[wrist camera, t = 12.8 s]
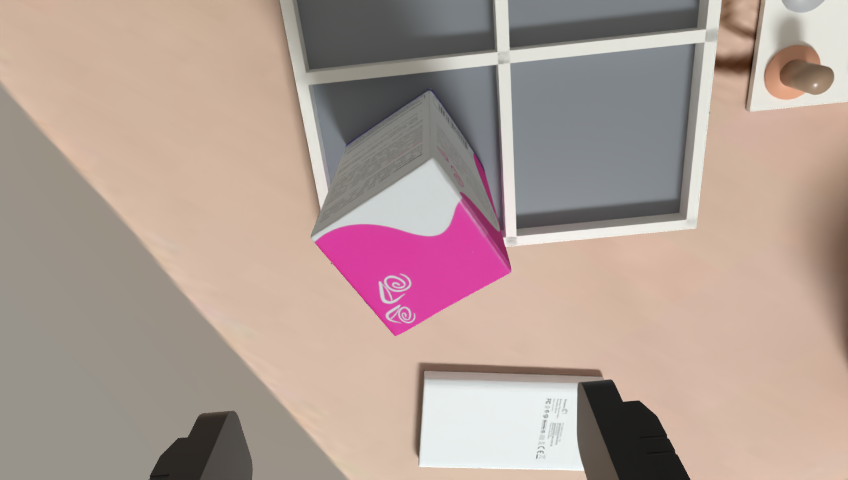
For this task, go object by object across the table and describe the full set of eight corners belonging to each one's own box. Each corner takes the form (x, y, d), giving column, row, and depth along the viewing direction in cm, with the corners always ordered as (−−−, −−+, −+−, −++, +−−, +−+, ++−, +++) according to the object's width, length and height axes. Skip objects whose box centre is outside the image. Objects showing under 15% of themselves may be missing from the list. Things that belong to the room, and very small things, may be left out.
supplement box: (341, 146, 31) (303, 235, 21) (431, 85, 30) (438, 147, 20) (401, 226, 33) (394, 343, 23) (488, 172, 32) (522, 270, 22)
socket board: (724, -220, 25) (747, -234, 24) (681, 214, 34) (696, 228, 33) (257, -162, 26) (246, -172, 24) (335, 248, 35) (331, 263, 33)
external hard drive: (424, 364, 40) (601, 371, 40) (418, 452, 43) (581, 457, 44) (424, 380, 38) (608, 386, 39) (418, 469, 42) (587, 474, 42)
